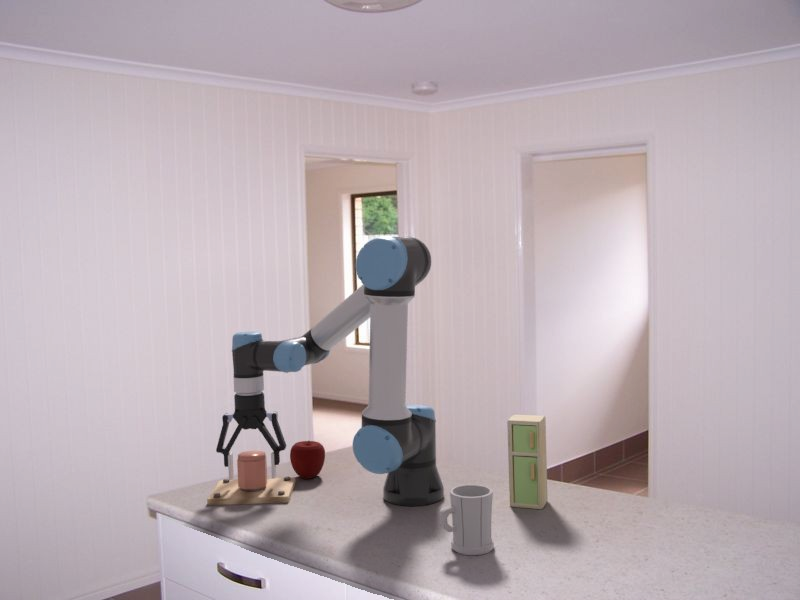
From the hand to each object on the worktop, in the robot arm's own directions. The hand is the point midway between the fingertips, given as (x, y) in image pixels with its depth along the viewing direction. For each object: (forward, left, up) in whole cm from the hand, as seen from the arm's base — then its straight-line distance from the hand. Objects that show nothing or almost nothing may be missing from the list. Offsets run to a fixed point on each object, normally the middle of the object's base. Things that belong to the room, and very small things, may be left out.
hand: (252, 478), depth 201 cm
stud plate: (0, 0, -4) cm, 4 cm away
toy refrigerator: (-68, +16, -4) cm, 70 cm away
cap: (0, 0, -2) cm, 2 cm away
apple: (-13, -13, -4) cm, 19 cm away
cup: (-51, +42, -4) cm, 66 cm away
